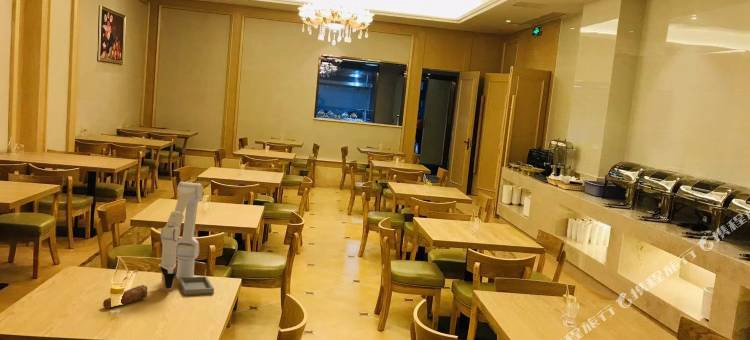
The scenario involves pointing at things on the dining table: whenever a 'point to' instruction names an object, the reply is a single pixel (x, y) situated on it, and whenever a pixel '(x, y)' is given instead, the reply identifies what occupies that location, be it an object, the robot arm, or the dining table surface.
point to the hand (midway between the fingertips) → (167, 285)
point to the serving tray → (196, 285)
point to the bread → (129, 296)
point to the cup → (164, 285)
